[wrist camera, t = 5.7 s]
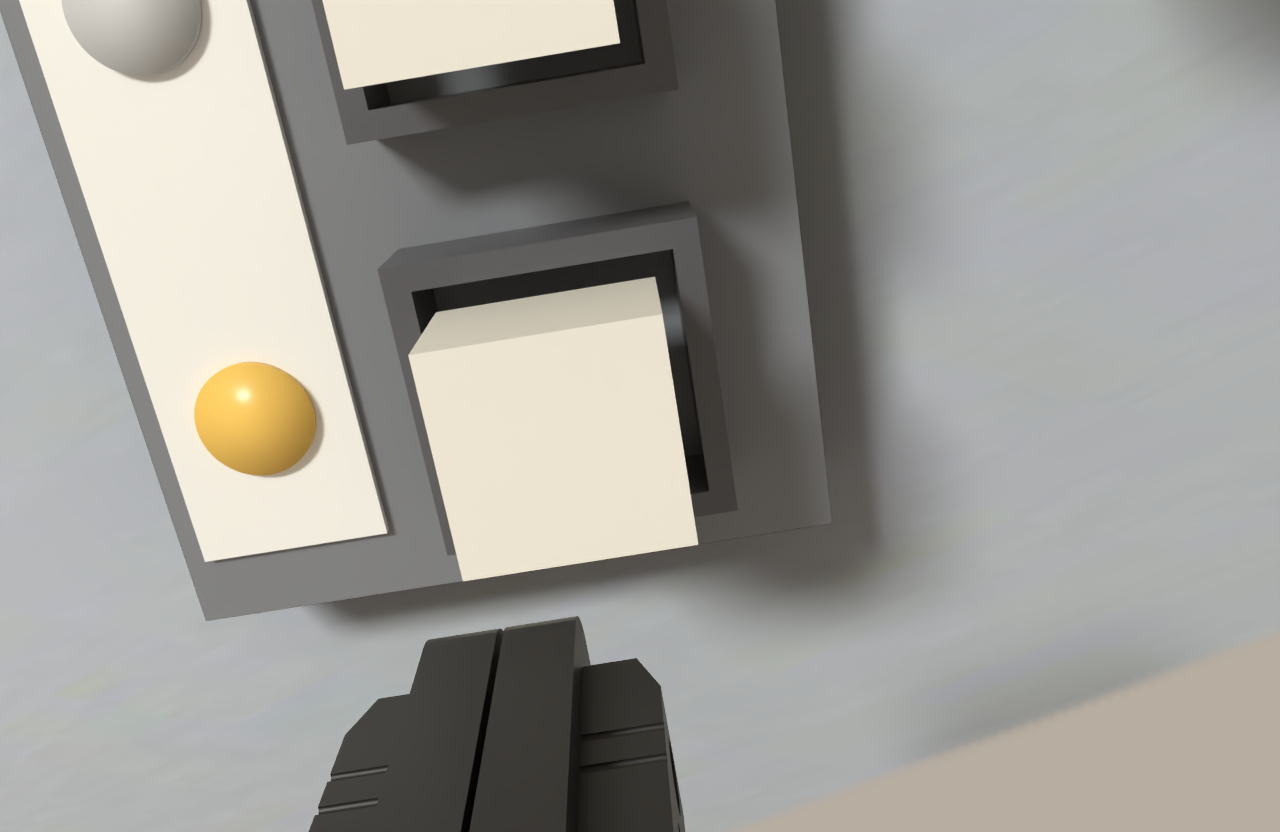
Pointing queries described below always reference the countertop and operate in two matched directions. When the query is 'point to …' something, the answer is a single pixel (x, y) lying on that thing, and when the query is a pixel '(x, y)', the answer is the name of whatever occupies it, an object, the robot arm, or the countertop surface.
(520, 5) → the button middle
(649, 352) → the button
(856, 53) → the countertop surface
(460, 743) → the robot arm
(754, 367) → the button board
